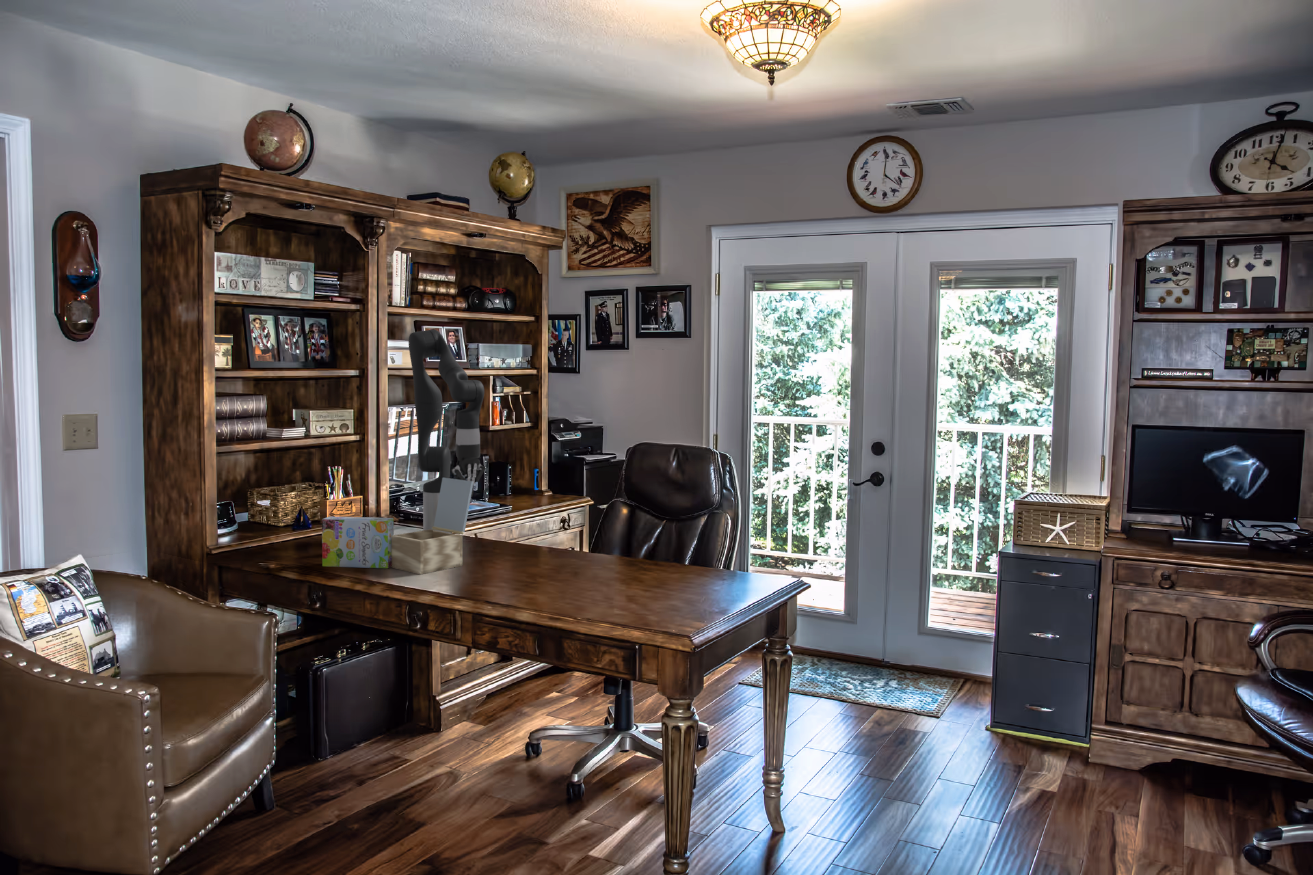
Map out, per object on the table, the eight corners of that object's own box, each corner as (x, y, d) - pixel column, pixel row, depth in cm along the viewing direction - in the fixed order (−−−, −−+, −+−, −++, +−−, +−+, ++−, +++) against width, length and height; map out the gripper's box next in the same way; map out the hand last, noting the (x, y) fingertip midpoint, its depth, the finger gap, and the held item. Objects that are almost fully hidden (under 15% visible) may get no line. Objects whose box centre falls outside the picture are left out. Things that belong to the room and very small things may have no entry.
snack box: (394, 565, 291) (394, 517, 290) (387, 569, 286) (387, 520, 284) (329, 563, 293) (328, 515, 292) (321, 566, 288) (320, 518, 286)
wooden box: (433, 559, 300) (433, 528, 299) (462, 565, 291) (462, 534, 290) (391, 567, 287) (391, 535, 286) (420, 574, 279) (420, 541, 278)
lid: (432, 529, 299) (435, 529, 300) (461, 534, 290) (464, 534, 291) (441, 477, 300) (444, 477, 301) (470, 481, 292) (473, 481, 293)
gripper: (476, 440, 307) (476, 493, 308) (444, 443, 296) (444, 497, 298) (491, 441, 302) (492, 495, 304) (459, 444, 292) (460, 499, 293)
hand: (468, 496), depth 301 cm, fingers closed
